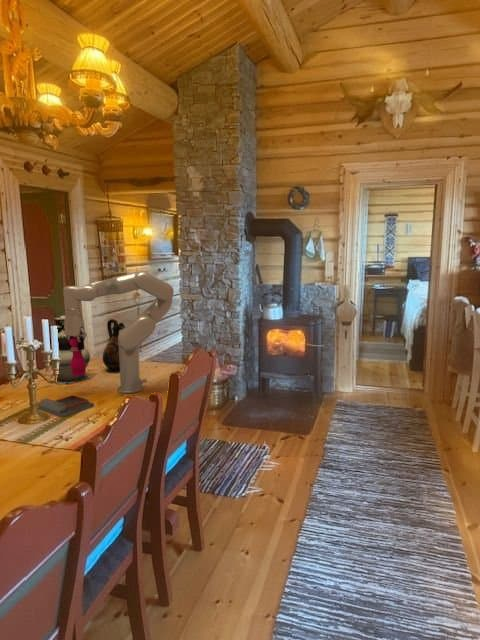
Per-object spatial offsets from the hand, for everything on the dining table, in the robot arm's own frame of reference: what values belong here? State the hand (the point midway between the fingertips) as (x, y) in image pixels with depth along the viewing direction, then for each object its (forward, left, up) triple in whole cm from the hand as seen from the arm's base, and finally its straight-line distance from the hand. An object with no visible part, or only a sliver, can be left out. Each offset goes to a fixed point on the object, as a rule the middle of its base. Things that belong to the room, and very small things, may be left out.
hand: (76, 348), depth 217 cm
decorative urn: (-14, -26, -23) cm, 38 cm away
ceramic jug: (-40, -20, -23) cm, 50 cm away
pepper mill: (0, 0, -13) cm, 13 cm away
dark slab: (+15, +12, -23) cm, 30 cm away
